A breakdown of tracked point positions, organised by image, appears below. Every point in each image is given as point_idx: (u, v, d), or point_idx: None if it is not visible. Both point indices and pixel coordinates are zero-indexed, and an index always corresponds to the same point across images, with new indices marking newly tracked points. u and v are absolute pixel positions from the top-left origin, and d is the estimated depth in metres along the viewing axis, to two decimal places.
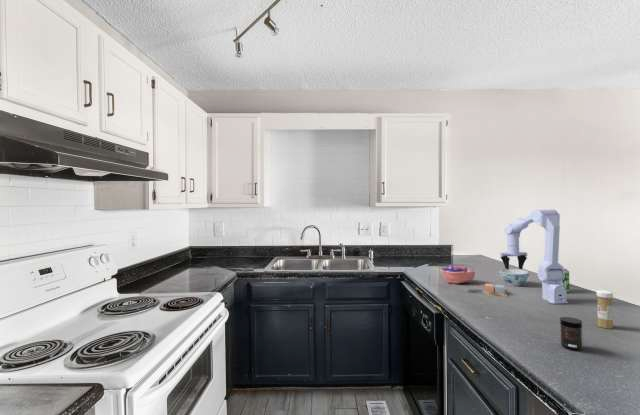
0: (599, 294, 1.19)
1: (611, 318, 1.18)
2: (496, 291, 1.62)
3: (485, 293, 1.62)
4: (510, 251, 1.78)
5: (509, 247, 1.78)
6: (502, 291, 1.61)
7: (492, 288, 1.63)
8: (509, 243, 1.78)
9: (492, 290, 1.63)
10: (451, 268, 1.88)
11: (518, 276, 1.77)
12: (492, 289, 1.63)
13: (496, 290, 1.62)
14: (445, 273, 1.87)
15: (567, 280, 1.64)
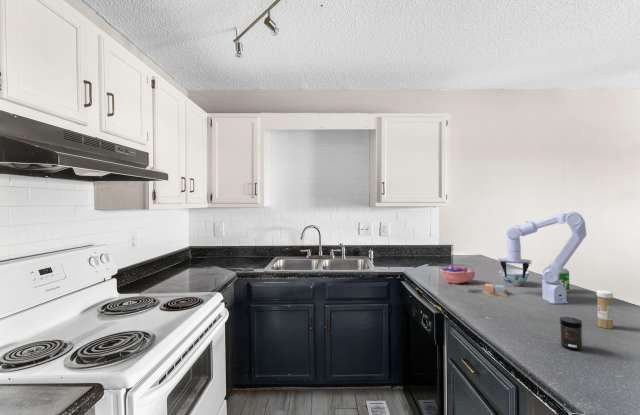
0: (599, 294, 1.19)
1: (611, 318, 1.18)
2: (496, 291, 1.62)
3: (485, 293, 1.62)
4: (508, 257, 1.62)
5: (508, 253, 1.62)
6: (502, 291, 1.61)
7: (492, 288, 1.63)
8: (515, 249, 1.59)
9: (492, 290, 1.63)
10: (451, 268, 1.88)
11: (518, 276, 1.77)
12: (492, 289, 1.63)
13: (496, 290, 1.62)
14: (445, 273, 1.87)
15: (567, 280, 1.64)
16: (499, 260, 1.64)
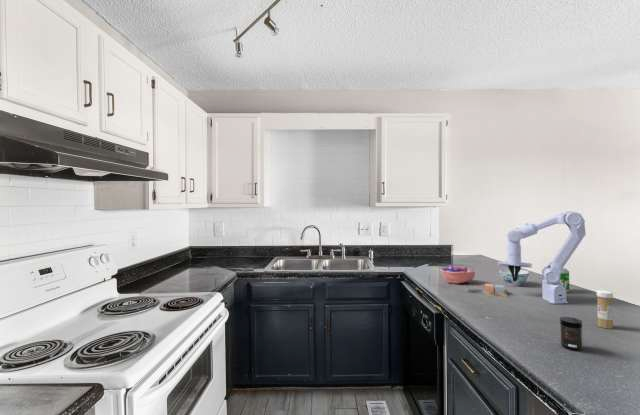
0: (599, 294, 1.19)
1: (611, 318, 1.18)
2: (496, 291, 1.62)
3: (485, 293, 1.62)
4: (508, 260, 1.60)
5: (508, 256, 1.61)
6: (502, 291, 1.61)
7: (492, 288, 1.63)
8: (516, 252, 1.57)
9: (492, 290, 1.63)
10: (451, 268, 1.88)
11: (518, 276, 1.77)
12: (492, 289, 1.63)
13: (496, 290, 1.62)
14: (445, 273, 1.87)
15: (567, 280, 1.64)
16: (499, 263, 1.63)
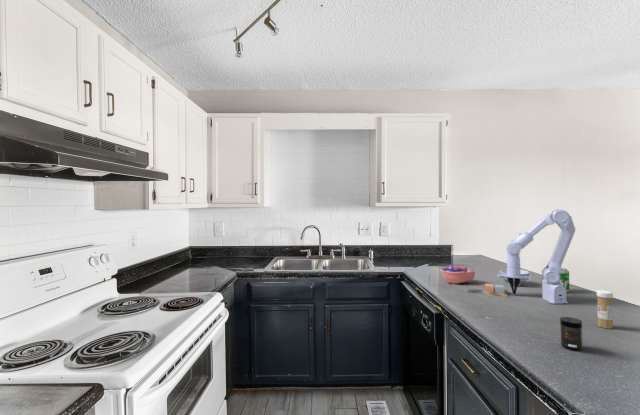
0: (599, 294, 1.19)
1: (611, 318, 1.18)
2: (496, 291, 1.62)
3: (485, 293, 1.62)
4: (508, 273, 1.60)
5: (507, 268, 1.61)
6: (502, 291, 1.61)
7: (492, 288, 1.63)
8: (515, 265, 1.58)
9: (492, 290, 1.63)
10: (451, 268, 1.88)
11: None
12: (492, 289, 1.63)
13: (496, 290, 1.62)
14: (445, 273, 1.87)
15: (567, 280, 1.64)
16: (498, 275, 1.63)
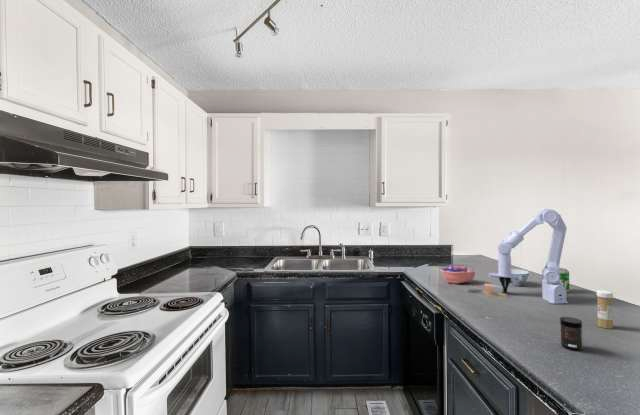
0: (599, 294, 1.19)
1: (611, 318, 1.18)
2: (494, 291, 1.63)
3: (485, 293, 1.62)
4: (499, 272, 1.62)
5: (498, 268, 1.63)
6: (500, 291, 1.61)
7: (491, 288, 1.63)
8: (506, 264, 1.60)
9: (491, 290, 1.63)
10: (451, 268, 1.88)
11: None
12: (491, 289, 1.63)
13: (494, 290, 1.63)
14: (445, 273, 1.87)
15: (567, 280, 1.64)
16: (490, 275, 1.65)
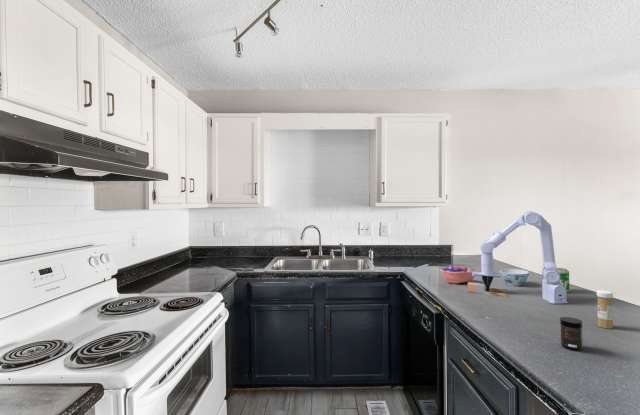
0: (599, 294, 1.19)
1: (611, 318, 1.18)
2: (477, 289, 1.67)
3: (485, 293, 1.62)
4: (482, 271, 1.66)
5: (481, 266, 1.67)
6: (483, 289, 1.65)
7: (474, 286, 1.67)
8: (488, 263, 1.64)
9: (474, 288, 1.67)
10: (451, 268, 1.88)
11: (518, 276, 1.77)
12: (474, 287, 1.67)
13: (477, 288, 1.67)
14: (445, 273, 1.87)
15: (567, 280, 1.64)
16: (473, 273, 1.69)
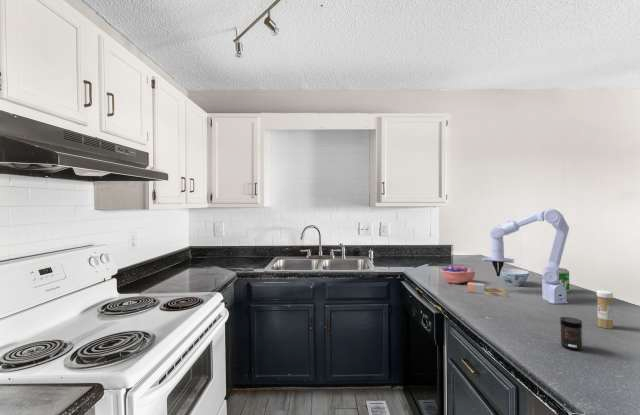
0: (599, 294, 1.19)
1: (611, 318, 1.18)
2: (477, 289, 1.67)
3: (485, 293, 1.62)
4: (492, 256, 1.66)
5: None
6: (482, 289, 1.65)
7: (474, 286, 1.67)
8: (498, 248, 1.64)
9: (474, 288, 1.67)
10: (451, 268, 1.88)
11: (518, 276, 1.77)
12: (474, 287, 1.67)
13: (477, 288, 1.67)
14: (445, 273, 1.87)
15: (567, 280, 1.64)
16: (483, 259, 1.69)
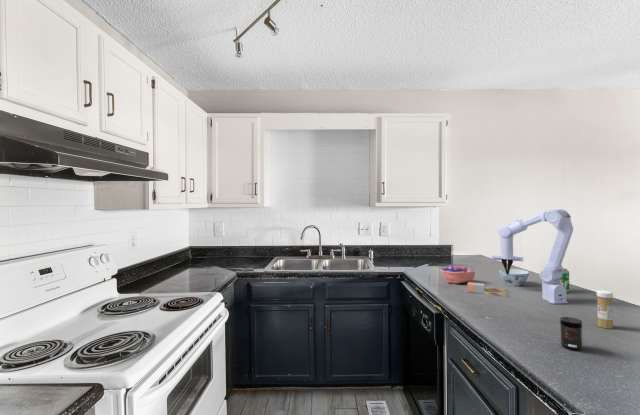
0: (599, 294, 1.19)
1: (611, 318, 1.18)
2: (477, 289, 1.67)
3: (485, 293, 1.62)
4: (501, 254, 1.70)
5: (501, 250, 1.71)
6: (482, 289, 1.65)
7: (474, 286, 1.67)
8: (505, 247, 1.68)
9: (474, 288, 1.67)
10: (451, 268, 1.88)
11: (518, 276, 1.77)
12: (474, 287, 1.67)
13: (477, 288, 1.67)
14: (445, 273, 1.87)
15: (567, 280, 1.64)
16: (493, 257, 1.73)
